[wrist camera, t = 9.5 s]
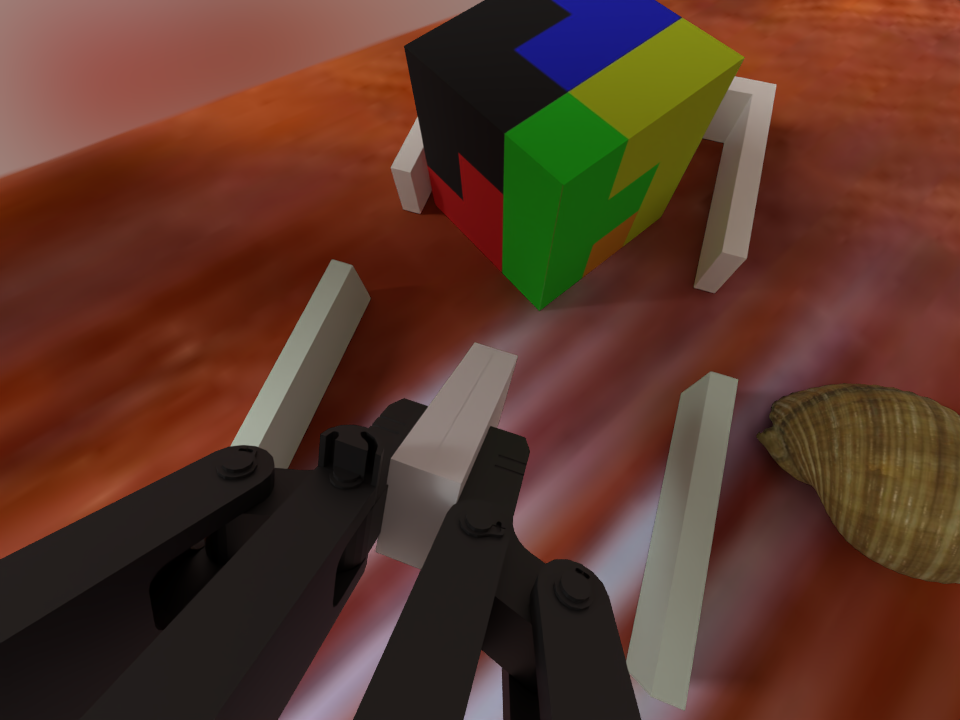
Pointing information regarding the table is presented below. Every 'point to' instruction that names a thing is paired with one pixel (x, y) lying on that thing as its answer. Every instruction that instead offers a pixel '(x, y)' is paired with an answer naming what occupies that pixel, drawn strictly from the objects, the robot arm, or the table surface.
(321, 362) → the channel
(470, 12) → the puzzle toy
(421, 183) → the bay
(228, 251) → the table surface
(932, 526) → the seashell
